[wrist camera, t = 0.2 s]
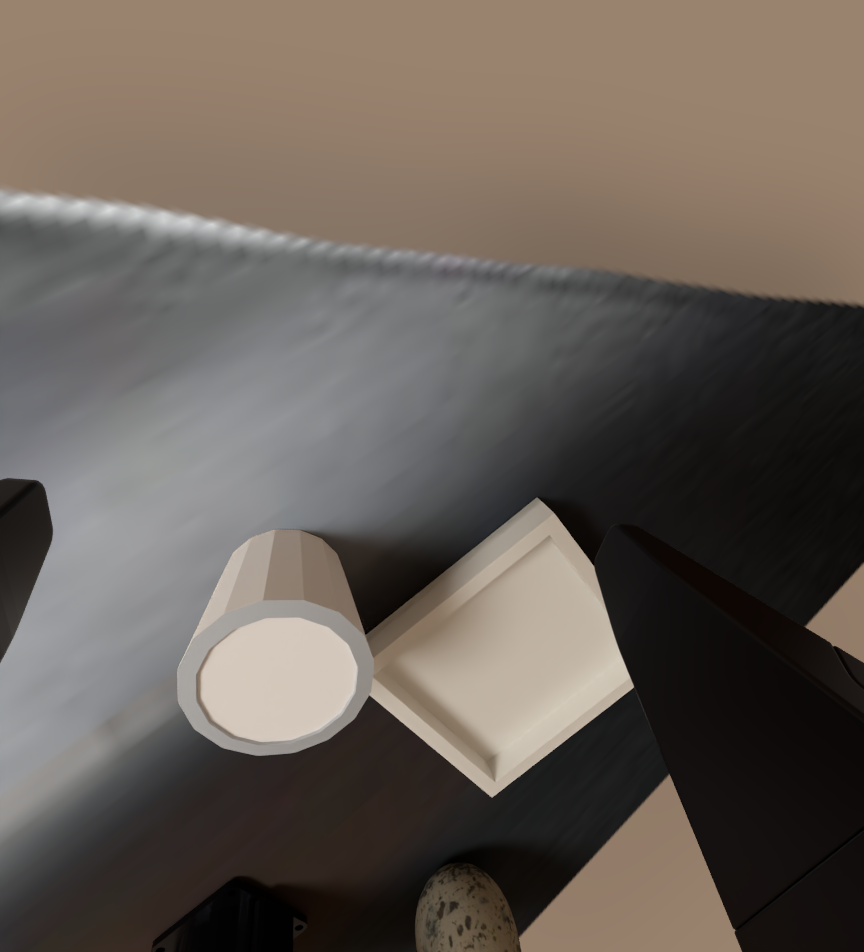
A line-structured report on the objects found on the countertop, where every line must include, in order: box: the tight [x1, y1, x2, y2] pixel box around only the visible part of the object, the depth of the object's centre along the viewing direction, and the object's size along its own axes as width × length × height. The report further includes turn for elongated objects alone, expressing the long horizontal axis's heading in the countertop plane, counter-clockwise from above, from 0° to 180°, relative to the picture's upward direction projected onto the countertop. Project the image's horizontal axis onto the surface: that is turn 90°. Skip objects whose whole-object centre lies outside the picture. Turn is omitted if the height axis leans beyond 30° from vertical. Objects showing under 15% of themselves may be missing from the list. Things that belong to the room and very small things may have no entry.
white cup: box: [177, 529, 374, 756], centre depth 22 cm, size 7×7×7 cm
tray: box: [365, 498, 634, 797], centre depth 29 cm, size 13×13×2 cm
